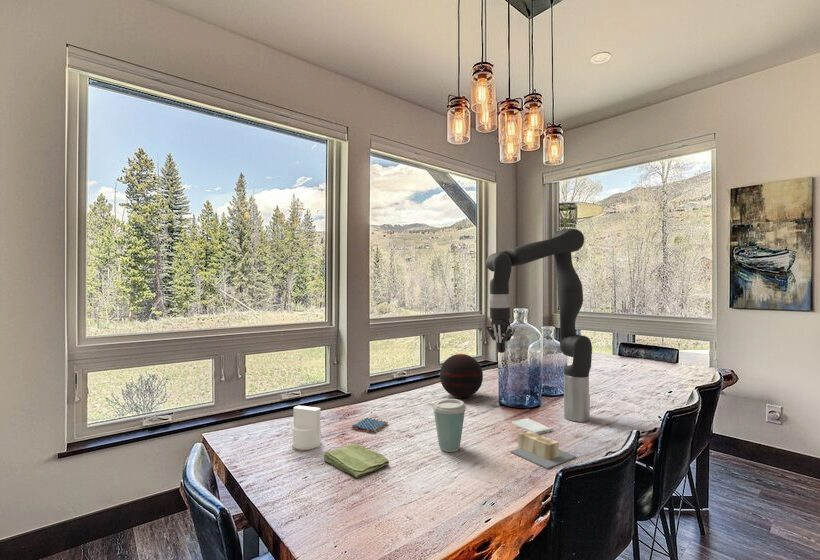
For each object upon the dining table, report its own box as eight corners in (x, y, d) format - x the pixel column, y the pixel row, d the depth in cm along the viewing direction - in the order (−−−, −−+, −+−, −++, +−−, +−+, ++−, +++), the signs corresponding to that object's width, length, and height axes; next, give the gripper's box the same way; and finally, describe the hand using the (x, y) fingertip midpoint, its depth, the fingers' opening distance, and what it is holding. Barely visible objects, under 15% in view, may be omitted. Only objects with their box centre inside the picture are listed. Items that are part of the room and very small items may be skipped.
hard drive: (511, 421, 158) (535, 431, 147) (528, 417, 161) (552, 428, 150) (511, 425, 158) (535, 436, 147) (528, 422, 161) (552, 432, 150)
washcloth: (356, 482, 113) (357, 470, 113) (320, 461, 125) (321, 450, 125) (392, 466, 122) (392, 456, 122) (355, 449, 134) (355, 439, 134)
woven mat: (349, 430, 151) (349, 425, 151) (365, 422, 160) (366, 416, 160) (374, 435, 146) (374, 430, 146) (389, 426, 156) (389, 421, 156)
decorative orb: (463, 406, 180) (463, 360, 180) (430, 396, 195) (431, 353, 195) (491, 397, 193) (491, 354, 193) (459, 389, 208) (459, 349, 208)
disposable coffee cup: (443, 457, 127) (444, 409, 127) (426, 445, 137) (426, 399, 137) (472, 451, 132) (472, 404, 132) (453, 439, 142) (453, 395, 142)
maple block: (527, 430, 137) (558, 442, 128) (527, 443, 137) (558, 456, 128) (518, 433, 135) (549, 445, 125) (518, 446, 135) (549, 460, 125)
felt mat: (538, 442, 139) (538, 441, 139) (575, 457, 128) (575, 456, 128) (510, 452, 131) (510, 451, 131) (547, 469, 120) (547, 467, 120)
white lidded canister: (325, 440, 140) (325, 405, 140) (311, 451, 132) (311, 413, 132) (302, 437, 143) (303, 402, 143) (287, 447, 135) (287, 410, 135)
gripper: (520, 306, 151) (521, 353, 151) (494, 304, 162) (495, 349, 162) (505, 307, 147) (507, 356, 147) (480, 306, 158) (481, 351, 158)
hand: (501, 352), depth 155 cm, fingers closed
